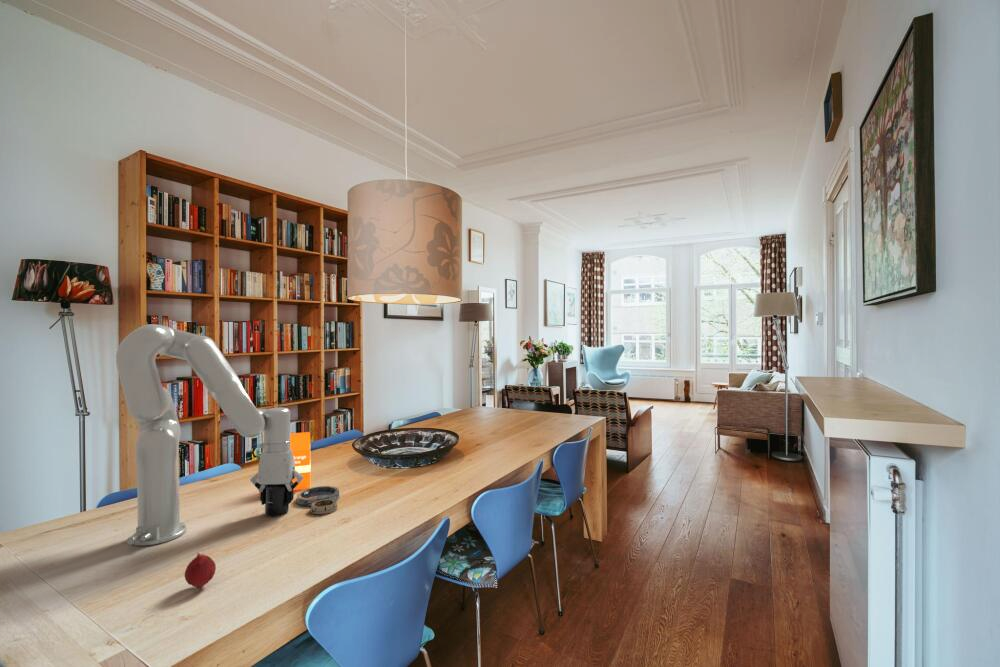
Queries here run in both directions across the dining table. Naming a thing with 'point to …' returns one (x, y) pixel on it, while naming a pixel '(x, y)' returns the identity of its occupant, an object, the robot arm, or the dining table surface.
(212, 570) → the onion
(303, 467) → the orange juice
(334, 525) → the dining table surface
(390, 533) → the dining table surface
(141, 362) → the robot arm
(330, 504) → the narrow flange
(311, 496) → the wide flange
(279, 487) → the supplement bottle
